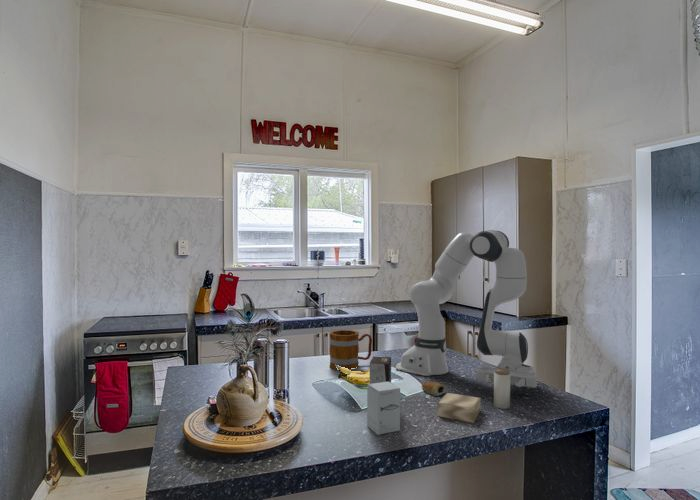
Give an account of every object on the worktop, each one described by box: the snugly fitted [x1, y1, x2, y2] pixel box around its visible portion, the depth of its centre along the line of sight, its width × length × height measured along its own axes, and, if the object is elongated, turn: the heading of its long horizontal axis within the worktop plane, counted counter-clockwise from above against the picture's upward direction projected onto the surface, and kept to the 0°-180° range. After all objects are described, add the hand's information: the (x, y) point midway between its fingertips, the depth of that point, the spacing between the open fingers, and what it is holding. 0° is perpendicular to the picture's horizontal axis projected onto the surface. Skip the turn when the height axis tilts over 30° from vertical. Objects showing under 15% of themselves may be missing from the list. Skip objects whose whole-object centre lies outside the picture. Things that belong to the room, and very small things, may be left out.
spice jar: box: [493, 367, 511, 410], centre depth 143 cm, size 5×5×12 cm
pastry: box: [421, 381, 447, 397], centre depth 158 cm, size 9×7×4 cm
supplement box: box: [366, 382, 401, 436], centre depth 125 cm, size 7×7×13 cm
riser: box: [437, 392, 482, 424], centre depth 137 cm, size 11×11×4 cm
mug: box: [329, 329, 373, 371], centre depth 191 cm, size 20×14×15 cm
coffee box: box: [369, 356, 392, 384], centre depth 141 cm, size 9×6×16 cm
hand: (503, 382), depth 145 cm, fingers open, 8 cm apart
